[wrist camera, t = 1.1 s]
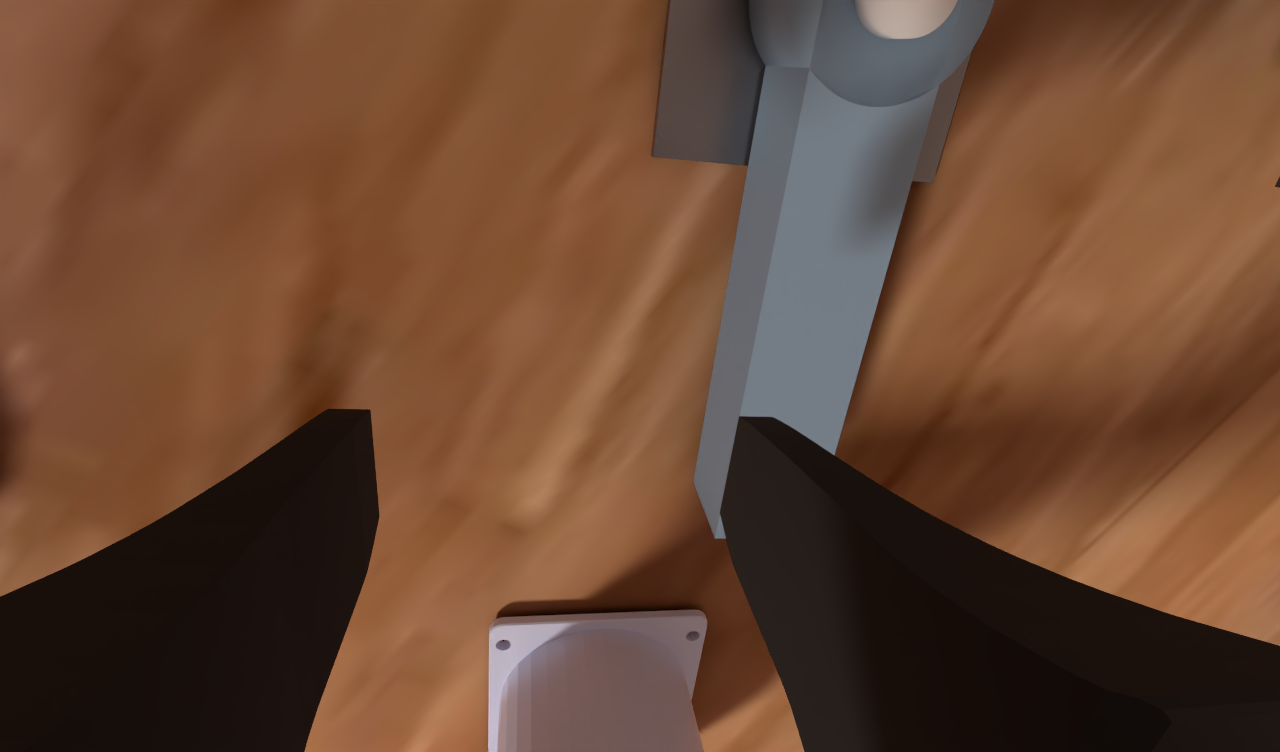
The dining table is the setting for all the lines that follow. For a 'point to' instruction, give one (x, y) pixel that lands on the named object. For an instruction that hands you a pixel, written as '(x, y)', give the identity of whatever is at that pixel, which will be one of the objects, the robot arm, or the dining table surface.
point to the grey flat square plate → (739, 89)
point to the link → (822, 207)
